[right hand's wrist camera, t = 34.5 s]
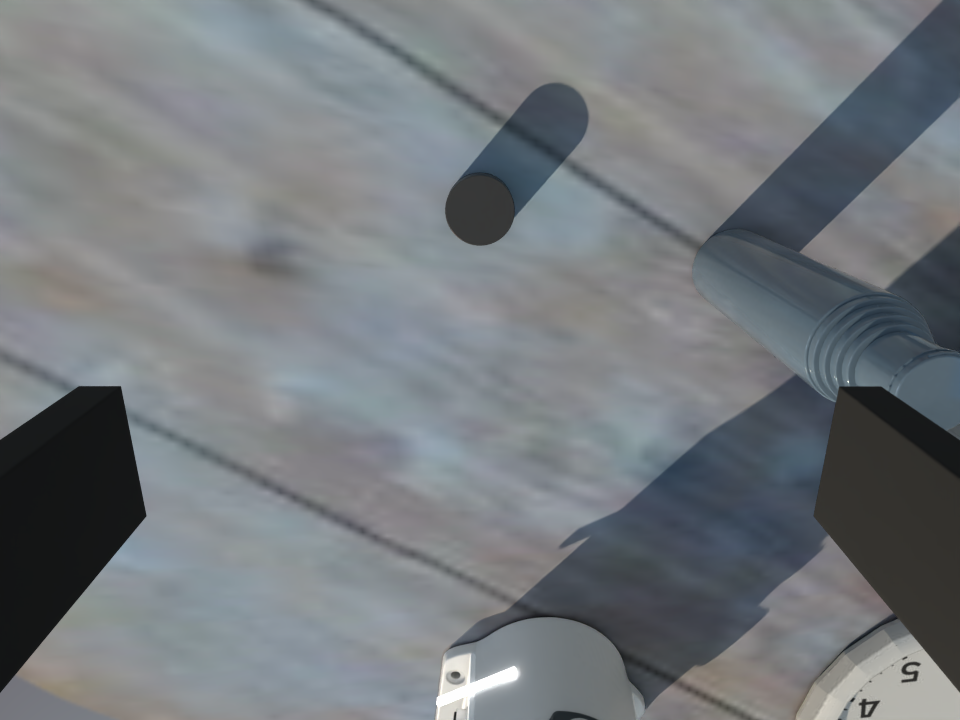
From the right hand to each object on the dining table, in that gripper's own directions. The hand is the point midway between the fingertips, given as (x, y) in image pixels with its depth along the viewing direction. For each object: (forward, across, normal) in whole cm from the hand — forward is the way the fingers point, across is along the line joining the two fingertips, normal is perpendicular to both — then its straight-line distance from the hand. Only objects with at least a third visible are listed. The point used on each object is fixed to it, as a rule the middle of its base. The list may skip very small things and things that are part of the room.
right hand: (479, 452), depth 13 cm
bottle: (+36, +18, -4) cm, 40 cm away
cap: (+34, 0, 0) cm, 34 cm away
